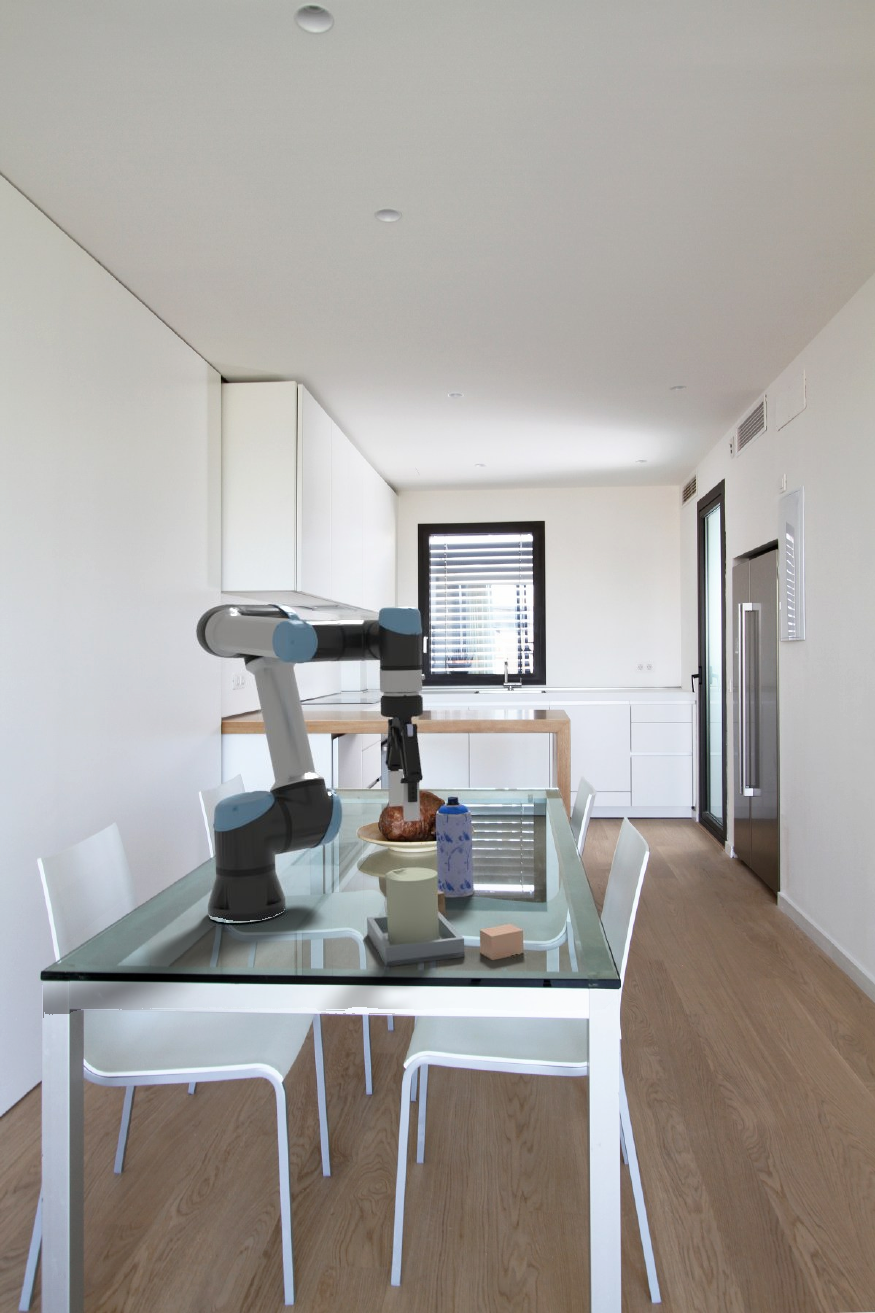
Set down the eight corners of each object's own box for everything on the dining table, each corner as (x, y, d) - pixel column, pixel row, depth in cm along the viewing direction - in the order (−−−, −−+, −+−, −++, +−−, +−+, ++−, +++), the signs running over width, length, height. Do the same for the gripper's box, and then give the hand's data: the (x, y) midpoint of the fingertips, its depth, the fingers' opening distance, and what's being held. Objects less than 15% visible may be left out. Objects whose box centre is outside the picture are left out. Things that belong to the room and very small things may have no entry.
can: (410, 928, 155) (408, 862, 155) (450, 937, 149) (448, 869, 149) (376, 942, 148) (373, 873, 148) (416, 953, 142) (414, 881, 142)
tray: (464, 956, 142) (463, 938, 142) (386, 966, 138) (385, 948, 138) (437, 926, 158) (437, 909, 158) (367, 934, 155) (366, 917, 155)
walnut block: (422, 924, 160) (421, 897, 160) (409, 917, 164) (408, 891, 164) (445, 919, 163) (444, 893, 163) (432, 913, 167) (431, 887, 167)
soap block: (492, 961, 140) (491, 936, 140) (480, 953, 144) (479, 929, 144) (523, 954, 143) (522, 930, 143) (511, 947, 146) (510, 923, 146)
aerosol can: (481, 890, 182) (478, 795, 182) (461, 899, 175) (458, 801, 175) (450, 885, 186) (447, 793, 186) (430, 894, 180) (426, 799, 180)
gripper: (438, 697, 141) (441, 826, 141) (407, 689, 165) (409, 799, 166) (394, 699, 139) (396, 829, 140) (369, 690, 163) (371, 801, 164)
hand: (403, 813), depth 153 cm, fingers open, 13 cm apart
